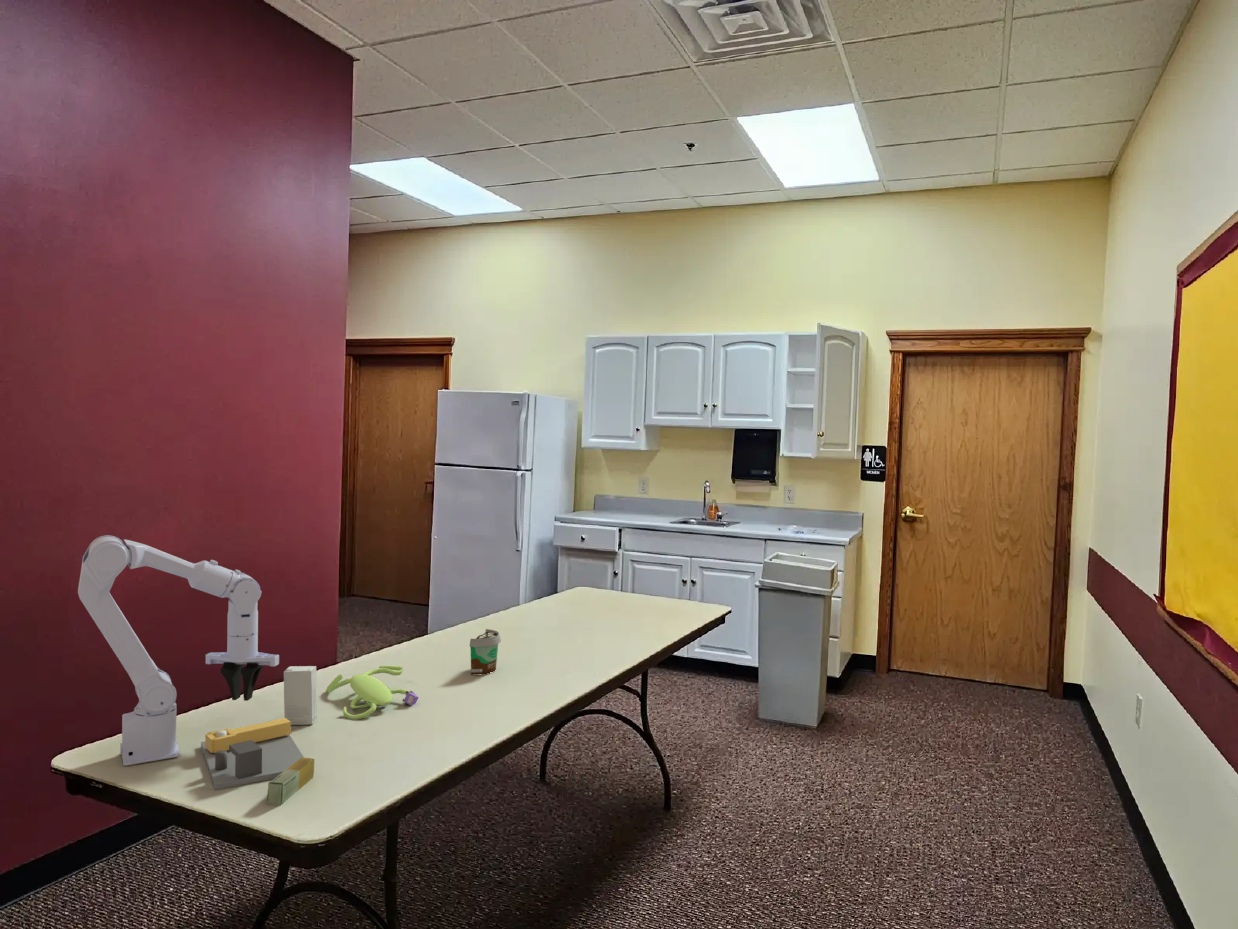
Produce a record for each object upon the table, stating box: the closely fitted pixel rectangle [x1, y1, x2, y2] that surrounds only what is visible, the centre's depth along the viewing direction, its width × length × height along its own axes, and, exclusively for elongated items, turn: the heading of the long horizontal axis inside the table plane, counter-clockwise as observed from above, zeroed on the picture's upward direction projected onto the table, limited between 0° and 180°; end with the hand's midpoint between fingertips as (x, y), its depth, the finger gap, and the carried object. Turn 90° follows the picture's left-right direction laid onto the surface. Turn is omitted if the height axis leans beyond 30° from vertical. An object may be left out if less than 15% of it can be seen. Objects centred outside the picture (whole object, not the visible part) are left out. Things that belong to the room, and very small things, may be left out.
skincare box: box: [283, 665, 318, 726], centre depth 179 cm, size 6×4×12 cm
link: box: [204, 717, 292, 753], centre depth 164 cm, size 15×5×3 cm, turn 133°
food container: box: [469, 628, 502, 675], centre depth 221 cm, size 12×6×10 cm, turn 168°
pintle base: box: [200, 730, 305, 791], centre depth 159 cm, size 16×23×6 cm
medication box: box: [266, 756, 315, 807], centre depth 145 cm, size 12×3×4 cm, turn 174°
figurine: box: [325, 665, 419, 720], centre depth 196 cm, size 18×27×6 cm
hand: (242, 699), depth 168 cm, fingers closed
